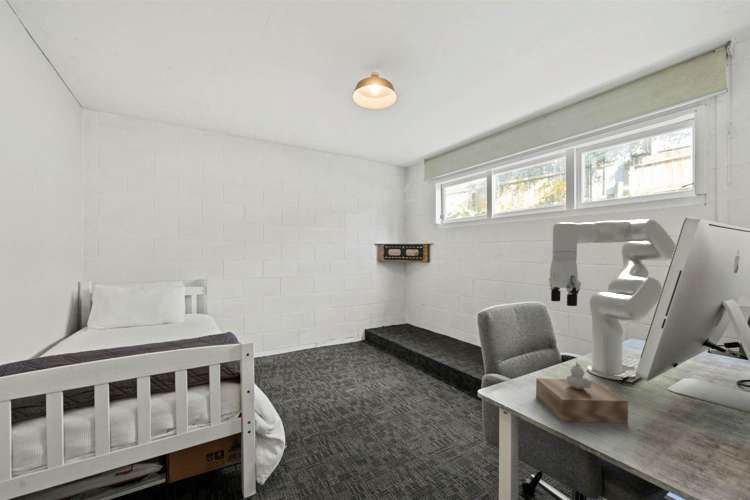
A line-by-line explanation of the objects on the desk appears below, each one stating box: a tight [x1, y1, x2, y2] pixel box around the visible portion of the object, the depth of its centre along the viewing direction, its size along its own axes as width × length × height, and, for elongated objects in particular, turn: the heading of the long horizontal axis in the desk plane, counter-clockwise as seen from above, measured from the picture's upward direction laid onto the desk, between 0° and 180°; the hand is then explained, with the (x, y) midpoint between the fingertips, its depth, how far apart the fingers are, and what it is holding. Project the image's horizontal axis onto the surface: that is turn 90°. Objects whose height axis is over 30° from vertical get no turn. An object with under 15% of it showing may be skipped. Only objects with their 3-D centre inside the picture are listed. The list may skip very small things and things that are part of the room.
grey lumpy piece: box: [566, 361, 593, 389], centre depth 91 cm, size 5×7×8 cm
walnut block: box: [535, 377, 629, 424], centre depth 92 cm, size 18×14×6 cm
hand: (563, 303), depth 111 cm, fingers open, 9 cm apart
